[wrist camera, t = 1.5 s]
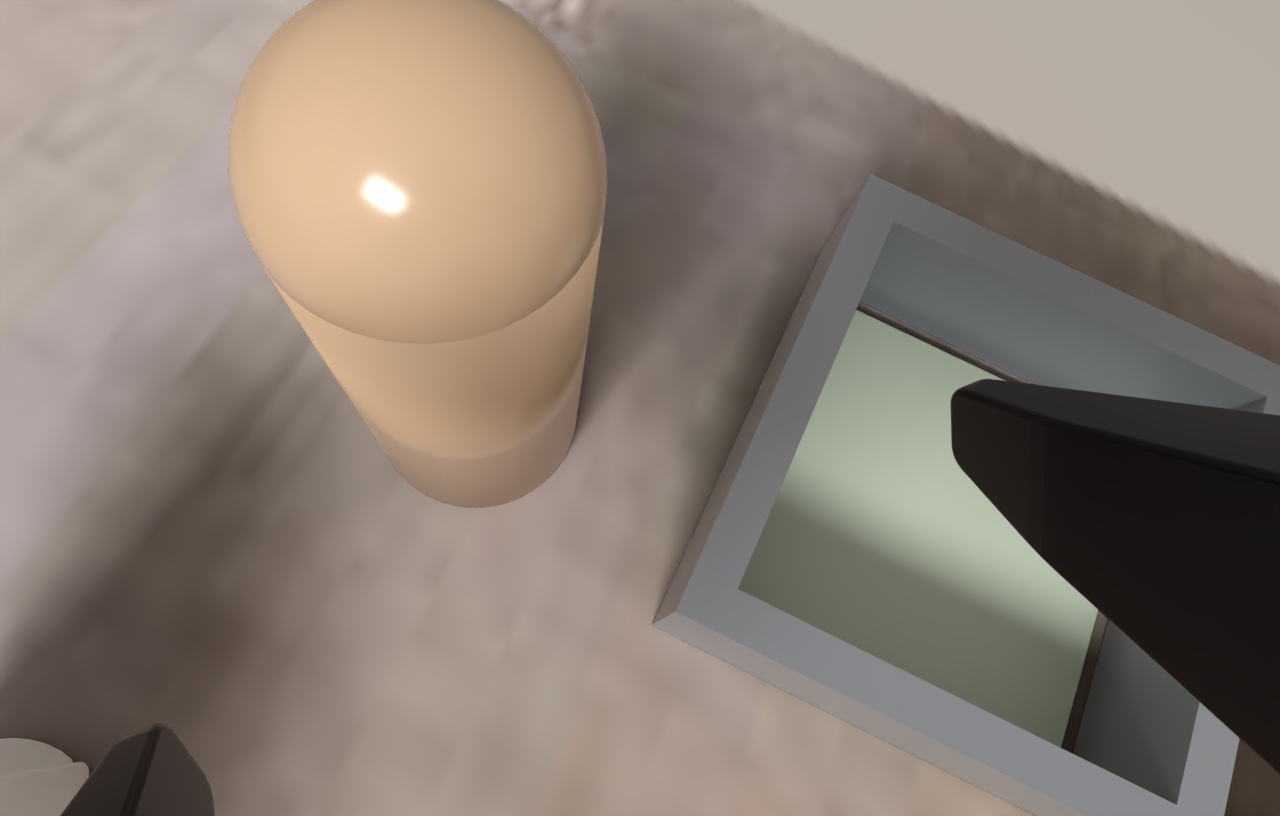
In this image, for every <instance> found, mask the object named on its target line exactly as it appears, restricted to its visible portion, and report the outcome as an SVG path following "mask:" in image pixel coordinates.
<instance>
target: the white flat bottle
mask: <svg viewBox="0 0 1280 816" xmlns="http://www.w3.org/2000/svg"><path fill="white" fill-rule="evenodd" d="M88 777H89V769H88V767H87V765H86V764H85V763H84V762H75V763H73V761H72V759H71V758H70V757H68V756H67V755H66V754H65V753H63V752H62V751H61V750H59V749H57V748H55V747H53V746H51V745H48V744H46V743H43V742H39V741H34V740H30V739H21V738H4V739H0V816H60V815H61V813H62V812H63V811H64V809H65V808H66V807H67V805H68V804H69V803H70V801H71V800H72V799H73V797H74V796H75V795H76V793H77V792H78V791H79V789H80V788H81V787H82V785H83V784H84V783H85V781H86V780H87V779H88Z"/></svg>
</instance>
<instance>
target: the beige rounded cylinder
mask: <svg viewBox="0 0 1280 816" xmlns="http://www.w3.org/2000/svg"><path fill="white" fill-rule="evenodd" d="M229 177H230V183H231V188H232V194H233V198H234V203H235V207H236V210H237V213H238V216H239V219H240V222H241V225H242V228H243V230H244V232H245V234H246V236H247V238H248V240H249V242H250V244H251V246H252V248H253V250H254V252H255V254H256V256H257V258H258V260H259V261H260V263H261V265H262V266H263V268H264V269H265V271H266V272H267V274H268V275H269V277H270V278H271V280H272V281H273V283H274V284H275V286H276V287H277V289H278V291H279V292H280V294H281V295H282V297H283V298H284V300H285V301H286V303H287V304H288V306H289V307H290V309H291V310H292V312H293V313H294V315H295V316H296V318H297V320H298V321H299V323H300V324H301V326H302V327H303V329H304V330H305V332H306V333H307V335H308V336H309V338H310V339H311V341H312V342H313V344H314V346H315V347H316V349H317V350H318V352H319V353H320V355H321V356H322V358H323V359H324V361H325V362H326V364H327V365H328V367H329V368H330V370H331V371H332V373H333V375H334V376H335V378H336V379H337V381H338V382H339V384H340V385H341V387H342V388H343V390H344V391H345V393H346V394H347V396H348V397H349V399H350V401H351V402H352V404H353V405H354V407H355V408H356V410H357V411H358V413H359V414H360V416H361V417H362V419H363V420H364V422H365V423H366V425H367V426H368V428H369V430H370V431H371V433H372V434H373V436H374V437H375V439H376V440H377V442H378V443H379V445H380V446H381V448H382V449H383V451H384V452H385V454H386V456H387V457H388V459H389V460H390V462H391V463H392V465H393V466H394V467H395V469H396V470H397V471H398V473H399V474H400V475H401V476H402V477H403V478H404V479H405V480H406V481H407V482H408V483H409V484H410V485H412V486H413V487H414V488H415V489H417V490H418V491H420V492H421V493H423V494H425V495H427V496H428V497H430V498H433V499H435V500H437V501H440V502H443V503H446V504H450V505H454V506H460V507H468V508H482V507H490V506H497V505H501V504H505V503H508V502H511V501H513V500H516V499H518V498H521V497H523V496H524V495H526V494H528V493H530V492H532V491H533V490H535V489H536V488H537V487H539V486H540V485H541V484H543V483H544V482H545V481H546V480H547V479H548V478H549V477H550V476H551V475H552V474H553V473H554V472H555V470H556V469H557V468H558V467H559V465H560V464H561V462H562V461H563V459H564V458H565V456H566V454H567V452H568V450H569V448H570V445H571V443H572V440H573V436H574V433H575V428H576V421H577V413H578V406H579V399H580V391H581V384H582V377H583V369H584V362H585V354H586V347H587V340H588V332H589V325H590V317H591V310H592V303H593V295H594V288H595V281H596V273H597V266H598V258H599V251H600V244H601V236H602V229H603V221H604V214H605V207H606V199H607V159H606V152H605V146H604V140H603V136H602V131H601V127H600V124H599V121H598V118H597V114H596V111H595V108H594V106H593V104H592V102H591V100H590V98H589V95H588V93H587V91H586V89H585V87H584V85H583V83H582V81H581V79H580V77H579V76H578V74H577V73H576V71H575V70H574V68H573V67H572V65H571V64H570V62H569V61H568V60H567V58H566V57H565V56H564V54H563V53H562V52H561V51H560V49H559V48H558V47H557V46H556V45H555V44H554V43H553V41H552V40H551V39H550V38H549V37H548V36H547V35H546V34H545V33H544V32H543V31H542V30H540V29H539V28H538V27H537V26H536V25H535V24H534V23H533V22H531V21H530V20H529V19H527V18H526V17H525V16H523V15H522V14H521V13H519V12H518V11H516V10H515V9H513V8H512V7H511V6H509V5H508V4H506V3H504V2H502V1H500V0H314V1H313V2H311V3H310V4H308V5H307V6H305V7H304V8H302V9H301V10H299V11H298V12H296V13H295V14H294V15H293V16H291V17H290V18H289V19H288V20H287V21H285V22H284V23H283V24H282V25H281V26H280V27H279V28H278V29H277V30H276V31H275V33H274V34H273V35H272V36H271V37H270V38H269V39H268V41H267V42H266V43H265V45H264V46H263V48H262V49H261V51H260V52H259V54H258V55H257V57H256V58H255V60H254V61H253V62H252V64H251V66H250V68H249V70H248V72H247V74H246V76H245V78H244V80H243V82H242V85H241V88H240V91H239V94H238V97H237V100H236V103H235V107H234V110H233V114H232V119H231V125H230V132H229Z"/></svg>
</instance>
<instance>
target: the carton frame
mask: <svg viewBox="0 0 1280 816" xmlns="http://www.w3.org/2000/svg"><path fill="white" fill-rule="evenodd" d="M860 301H861V302H863V303H865V304H867V305H870V306H872V307H874V308H876V309H878V310H880V311H882V312H884V313H886V314H889V315H891V316H893V317H895V318H897V319H899V320H901V321H903V322H905V323H907V324H910V325H912V326H914V327H916V328H918V329H920V330H922V331H924V332H926V333H929V334H931V335H933V336H935V337H937V338H939V339H941V340H943V341H945V342H947V343H950V344H952V345H954V346H956V347H958V348H960V349H962V350H964V351H966V352H968V353H971V354H973V355H975V356H977V357H979V358H981V359H983V360H985V361H987V362H990V363H992V364H994V365H996V366H998V367H1000V368H1002V369H1004V370H1006V371H1008V372H1011V373H1013V374H1015V375H1017V376H1019V377H1021V378H1023V379H1025V380H1027V381H1030V382H1032V383H1034V384H1036V385H1043V386H1051V387H1059V388H1067V389H1075V390H1083V391H1091V392H1099V393H1107V394H1115V395H1123V396H1131V397H1139V398H1147V399H1155V400H1163V401H1171V402H1178V403H1186V404H1194V405H1202V406H1210V407H1218V408H1226V409H1234V410H1242V411H1250V412H1258V413H1266V414H1274V415H1280V365H1278V364H1276V363H1274V362H1272V361H1270V360H1268V359H1265V358H1263V357H1261V356H1259V355H1257V354H1255V353H1253V352H1250V351H1248V350H1246V349H1244V348H1242V347H1240V346H1238V345H1235V344H1233V343H1231V342H1229V341H1227V340H1225V339H1223V338H1221V337H1218V336H1216V335H1214V334H1212V333H1210V332H1208V331H1206V330H1203V329H1201V328H1199V327H1197V326H1195V325H1193V324H1191V323H1189V322H1186V321H1184V320H1182V319H1180V318H1178V317H1176V316H1174V315H1171V314H1169V313H1167V312H1165V311H1163V310H1161V309H1159V308H1157V307H1154V306H1152V305H1150V304H1148V303H1146V302H1144V301H1142V300H1139V299H1137V298H1135V297H1133V296H1131V295H1129V294H1127V293H1125V292H1122V291H1120V290H1118V289H1116V288H1114V287H1112V286H1110V285H1107V284H1105V283H1103V282H1101V281H1099V280H1097V279H1095V278H1093V277H1090V276H1088V275H1086V274H1084V273H1082V272H1080V271H1078V270H1075V269H1073V268H1071V267H1069V266H1067V265H1065V264H1063V263H1061V262H1058V261H1056V260H1054V259H1052V258H1050V257H1048V256H1046V255H1043V254H1041V253H1039V252H1037V251H1035V250H1033V249H1031V248H1029V247H1026V246H1024V245H1022V244H1020V243H1018V242H1016V241H1014V240H1011V239H1009V238H1007V237H1005V236H1003V235H1001V234H999V233H997V232H994V231H992V230H990V229H988V228H986V227H984V226H982V225H979V224H977V223H975V222H973V221H971V220H969V219H967V218H965V217H962V216H960V215H958V214H956V213H954V212H952V211H950V210H947V209H945V208H943V207H941V206H939V205H937V204H935V203H933V202H930V201H928V200H926V199H924V198H922V197H920V196H918V195H915V194H913V193H911V192H909V191H907V190H905V189H903V188H901V187H898V186H896V185H894V184H892V183H890V182H888V181H886V180H883V179H881V178H879V177H877V176H875V175H873V174H870V175H869V177H868V178H867V180H866V181H865V183H864V185H863V186H862V188H861V189H860V191H859V192H858V194H857V196H856V197H855V199H854V200H853V202H852V203H851V205H850V206H849V208H848V210H847V211H846V213H845V214H844V216H843V217H842V219H841V221H840V222H839V224H838V225H837V227H836V228H835V230H834V231H833V233H832V235H831V236H830V238H829V239H828V241H827V242H826V244H825V245H824V247H823V249H822V250H821V252H820V255H819V257H818V259H817V261H816V263H815V266H814V268H813V270H812V272H811V274H810V277H809V279H808V281H807V283H806V286H805V288H804V290H803V292H802V294H801V297H800V299H799V301H798V303H797V305H796V308H795V310H794V312H793V314H792V316H791V319H790V321H789V323H788V325H787V327H786V330H785V332H784V334H783V336H782V339H781V341H780V343H779V345H778V347H777V350H776V352H775V354H774V356H773V358H772V361H771V363H770V365H769V367H768V369H767V372H766V374H765V376H764V378H763V380H762V383H761V385H760V387H759V389H758V392H757V394H756V396H755V398H754V400H753V403H752V405H751V407H750V409H749V411H748V414H747V416H746V418H745V420H744V422H743V425H742V427H741V429H740V431H739V433H738V436H737V438H736V440H735V442H734V445H733V447H732V449H731V451H730V453H729V456H728V458H727V460H726V462H725V464H724V467H723V469H722V471H721V473H720V475H719V478H718V480H717V482H716V484H715V486H714V489H713V491H712V493H711V495H710V498H709V500H708V502H707V504H706V506H705V509H704V511H703V513H702V515H701V517H700V520H699V522H698V524H697V526H696V528H695V531H694V533H693V535H692V537H691V539H690V542H689V544H688V546H687V548H686V551H685V553H684V555H683V557H682V559H681V562H680V564H679V566H678V568H677V570H676V573H675V575H674V577H673V579H672V581H671V584H670V586H669V588H668V590H667V593H666V595H665V597H664V599H663V601H662V604H661V606H660V608H659V610H658V612H657V615H656V617H655V619H654V621H653V623H652V626H654V627H656V628H658V629H660V630H662V631H664V632H666V633H668V634H670V635H673V636H675V637H677V638H679V639H681V640H683V641H685V642H687V643H689V644H691V645H693V646H695V647H697V648H699V649H701V650H703V651H705V652H707V653H709V654H711V655H713V656H715V657H717V658H719V659H721V660H723V661H725V662H727V663H729V664H731V665H733V666H735V667H737V668H739V669H741V670H743V671H745V672H747V673H749V674H751V675H753V676H755V677H757V678H759V679H761V680H763V681H765V682H767V683H769V684H771V685H773V686H775V687H777V688H779V689H781V690H783V691H785V692H787V693H789V694H791V695H793V696H795V697H797V698H799V699H801V700H803V701H805V702H807V703H809V704H811V705H814V706H816V707H818V708H820V709H822V710H824V711H826V712H828V713H830V714H832V715H834V716H836V717H838V718H840V719H842V720H844V721H846V722H848V723H850V724H852V725H854V726H856V727H858V728H860V729H862V730H864V731H866V732H868V733H870V734H872V735H874V736H876V737H878V738H880V739H882V740H884V741H886V742H888V743H890V744H892V745H894V746H896V747H898V748H900V749H902V750H904V751H906V752H908V753H910V754H912V755H914V756H916V757H918V758H920V759H922V760H924V761H926V762H928V763H930V764H932V765H934V766H936V767H938V768H940V769H942V770H944V771H946V772H948V773H950V774H952V775H955V776H957V777H959V778H961V779H963V780H965V781H967V782H969V783H971V784H973V785H975V786H977V787H979V788H981V789H983V790H985V791H987V792H989V793H991V794H993V795H995V796H997V797H999V798H1001V799H1003V800H1005V801H1007V802H1009V803H1011V804H1013V805H1015V806H1017V807H1019V808H1021V809H1023V810H1025V811H1027V812H1029V813H1031V814H1033V815H1035V816H1224V814H1225V809H1226V804H1227V799H1228V794H1229V789H1230V784H1231V779H1232V774H1233V769H1234V764H1235V759H1236V754H1237V749H1238V744H1239V739H1240V738H1239V737H1237V736H1236V735H1235V734H1234V733H1233V732H1232V731H1231V730H1230V729H1229V728H1228V727H1226V726H1225V725H1224V724H1223V723H1222V722H1221V721H1220V720H1219V719H1218V718H1217V717H1215V716H1214V715H1213V714H1212V713H1211V712H1210V711H1209V710H1208V709H1207V708H1206V707H1204V706H1203V705H1202V704H1201V703H1200V702H1199V701H1198V700H1197V699H1196V698H1195V697H1193V696H1192V695H1191V694H1190V693H1189V692H1188V691H1187V690H1186V689H1185V688H1184V687H1182V686H1181V685H1180V684H1179V683H1178V682H1177V681H1176V680H1175V679H1174V678H1173V677H1171V676H1170V675H1169V674H1168V673H1167V672H1166V671H1165V670H1164V669H1163V668H1162V667H1160V666H1159V665H1158V664H1157V663H1156V662H1155V661H1154V660H1153V659H1152V658H1151V657H1149V656H1148V655H1147V654H1146V653H1145V652H1144V651H1143V650H1142V649H1141V648H1140V647H1138V646H1137V645H1136V644H1135V643H1134V642H1133V641H1132V640H1131V639H1130V638H1129V637H1127V636H1126V635H1125V634H1124V633H1123V632H1122V631H1121V630H1120V629H1119V628H1118V627H1117V626H1115V625H1114V624H1113V623H1112V622H1111V621H1110V620H1109V619H1108V623H1107V627H1106V630H1105V634H1104V638H1103V642H1102V645H1101V649H1100V653H1099V657H1098V661H1097V664H1096V668H1095V672H1094V676H1093V679H1092V683H1091V687H1090V691H1089V694H1088V698H1087V702H1086V706H1085V709H1084V713H1083V717H1082V721H1081V725H1080V728H1079V732H1078V736H1077V740H1076V743H1075V747H1074V751H1073V754H1072V753H1070V752H1068V751H1066V750H1064V749H1062V748H1061V745H1062V741H1063V738H1064V734H1065V730H1066V727H1067V723H1068V719H1069V716H1070V712H1071V708H1072V705H1073V701H1074V697H1075V694H1076V690H1077V686H1078V682H1079V679H1080V675H1081V671H1082V668H1083V664H1084V660H1085V657H1086V653H1087V649H1088V646H1089V642H1090V638H1091V634H1092V631H1093V627H1094V623H1095V620H1096V616H1097V612H1098V609H1097V608H1096V607H1095V606H1093V605H1092V604H1091V603H1090V602H1089V601H1088V600H1087V599H1086V598H1085V597H1084V596H1082V595H1081V594H1080V593H1079V592H1078V591H1077V590H1076V589H1075V588H1074V587H1073V586H1071V585H1070V584H1069V583H1068V582H1067V581H1066V580H1065V579H1064V578H1063V577H1062V576H1060V575H1059V574H1058V573H1057V572H1056V571H1055V570H1054V569H1053V568H1052V567H1051V566H1050V565H1049V564H1048V563H1047V562H1046V561H1045V560H1044V559H1042V558H1041V557H1040V556H1039V554H1038V553H1037V552H1036V551H1035V550H1034V549H1033V548H1032V547H1031V546H1030V545H1029V544H1028V543H1027V542H1026V541H1025V540H1024V539H1023V537H1022V536H1021V535H1020V534H1019V533H1018V532H1017V531H1016V530H1015V528H1014V527H1013V526H1012V525H1011V524H1010V523H1009V522H1008V521H1007V520H1006V518H1005V517H1004V516H1003V515H1002V514H1001V513H1000V512H999V511H998V509H997V508H996V507H995V506H994V505H993V504H992V503H991V502H990V501H989V499H988V498H987V497H986V496H985V495H984V494H983V493H982V492H981V490H980V489H979V488H978V487H977V486H976V485H975V484H974V483H973V482H972V480H971V479H970V478H969V477H968V476H967V475H966V474H965V473H964V472H963V470H962V469H961V468H960V467H959V465H958V464H957V462H956V460H955V458H954V455H953V451H952V442H951V405H950V404H951V398H952V395H953V393H954V392H955V391H956V390H957V389H959V388H961V387H964V386H966V385H968V384H971V383H973V382H976V381H978V380H981V379H995V380H1003V379H1001V378H999V377H997V376H994V375H992V374H990V373H988V372H986V371H984V370H982V369H980V368H978V367H976V366H973V365H971V364H969V363H967V362H965V361H963V360H961V359H959V358H957V357H954V356H952V355H950V354H948V353H946V352H944V351H942V350H940V349H938V348H936V347H933V346H931V345H929V344H927V343H925V342H923V341H921V340H919V339H917V338H915V337H912V336H910V335H908V334H906V333H904V332H902V331H900V330H898V329H896V328H894V327H891V326H889V325H887V324H885V323H883V322H881V321H879V320H877V319H875V318H873V317H870V316H868V315H866V314H864V313H862V312H860V311H858V310H856V309H857V306H858V304H859V302H860ZM1003 381H1005V380H1003Z"/></svg>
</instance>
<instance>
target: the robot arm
mask: <svg viewBox="0 0 1280 816" xmlns="http://www.w3.org/2000/svg"><path fill="white" fill-rule="evenodd" d="M950 405H951V442H952V451H953V455H954V458H955V460H956V462H957V464H958V465H959V467H960V468H961V469H962V470H963V472H964V473H965V474H966V475H967V476H968V477H969V478H970V479H971V480H972V482H973V483H974V484H975V485H976V486H977V487H978V488H979V489H980V490H981V492H982V493H983V494H984V495H985V496H986V497H987V498H988V499H989V501H990V502H991V503H992V504H993V505H994V506H995V507H996V508H997V509H998V511H999V512H1000V513H1001V514H1002V515H1003V516H1004V517H1005V518H1006V520H1007V521H1008V522H1009V523H1010V524H1011V525H1012V526H1013V527H1014V528H1015V530H1016V531H1017V532H1018V533H1019V534H1020V535H1021V536H1022V537H1023V539H1024V540H1025V541H1026V542H1027V543H1028V544H1029V545H1030V546H1031V547H1032V548H1033V549H1034V550H1035V551H1036V552H1037V553H1038V554H1039V556H1040V557H1041V558H1042V559H1044V560H1045V561H1046V562H1047V563H1048V564H1049V565H1050V566H1051V567H1052V568H1053V569H1054V570H1055V571H1056V572H1057V573H1058V574H1059V575H1060V576H1062V577H1063V578H1064V579H1065V580H1066V581H1067V582H1068V583H1069V584H1070V585H1071V586H1073V587H1074V588H1075V589H1076V590H1077V591H1078V592H1079V593H1080V594H1081V595H1082V596H1084V597H1085V598H1086V599H1087V600H1088V601H1089V602H1090V603H1091V604H1092V605H1093V606H1095V607H1096V608H1097V609H1098V610H1099V611H1100V612H1101V613H1102V614H1103V615H1104V616H1106V617H1107V618H1108V619H1109V620H1110V621H1111V622H1112V623H1113V624H1114V625H1115V626H1117V627H1118V628H1119V629H1120V630H1121V631H1122V632H1123V633H1124V634H1125V635H1126V636H1127V637H1129V638H1130V639H1131V640H1132V641H1133V642H1134V643H1135V644H1136V645H1137V646H1138V647H1140V648H1141V649H1142V650H1143V651H1144V652H1145V653H1146V654H1147V655H1148V656H1149V657H1151V658H1152V659H1153V660H1154V661H1155V662H1156V663H1157V664H1158V665H1159V666H1160V667H1162V668H1163V669H1164V670H1165V671H1166V672H1167V673H1168V674H1169V675H1170V676H1171V677H1173V678H1174V679H1175V680H1176V681H1177V682H1178V683H1179V684H1180V685H1181V686H1182V687H1184V688H1185V689H1186V690H1187V691H1188V692H1189V693H1190V694H1191V695H1192V696H1193V697H1195V698H1196V699H1197V700H1198V701H1199V702H1200V703H1201V704H1202V705H1203V706H1204V707H1206V708H1207V709H1208V710H1209V711H1210V712H1211V713H1212V714H1213V715H1214V716H1215V717H1217V718H1218V719H1219V720H1220V721H1221V722H1222V723H1223V724H1224V725H1225V726H1226V727H1228V728H1229V729H1230V730H1231V731H1232V732H1233V733H1234V734H1235V735H1236V736H1237V737H1239V738H1240V739H1241V740H1242V741H1243V742H1244V743H1245V744H1246V745H1247V746H1248V747H1250V748H1251V749H1252V750H1253V751H1254V752H1255V753H1256V754H1257V755H1258V756H1259V757H1261V758H1262V759H1263V760H1264V761H1265V762H1266V763H1267V764H1268V765H1269V766H1270V767H1272V768H1273V769H1274V770H1275V771H1276V772H1277V773H1278V774H1279V775H1280V415H1274V414H1266V413H1258V412H1250V411H1242V410H1234V409H1226V408H1218V407H1210V406H1202V405H1194V404H1186V403H1178V402H1171V401H1163V400H1155V399H1147V398H1139V397H1131V396H1123V395H1115V394H1107V393H1099V392H1091V391H1083V390H1075V389H1067V388H1059V387H1051V386H1043V385H1035V384H1027V383H1019V382H1011V381H1003V380H995V379H981V380H978V381H976V382H973V383H971V384H968V385H966V386H964V387H961V388H959V389H957V390H956V391H955V392H954V393H953V395H952V398H951V404H950ZM60 816H215V814H214V804H213V797H212V792H211V788H210V785H209V782H208V780H207V778H206V776H205V774H204V773H203V771H202V770H201V769H200V767H199V766H198V765H197V763H196V762H195V760H194V759H193V758H192V756H191V755H190V754H189V752H188V751H187V749H186V748H185V747H184V745H183V744H182V742H181V741H180V740H179V738H178V737H177V736H176V734H175V733H174V732H173V730H172V729H171V728H169V727H168V726H167V725H165V724H154V725H152V726H149V727H147V728H144V729H142V730H140V731H137V732H135V733H132V734H130V735H128V736H125V737H123V738H121V739H119V740H118V741H116V742H115V743H114V744H113V746H112V747H111V748H110V749H109V750H108V752H107V753H106V754H105V756H104V757H103V758H102V760H101V761H100V762H99V764H98V765H97V766H96V768H95V769H94V771H93V772H92V773H91V775H90V776H89V777H88V779H87V780H86V781H85V783H84V784H83V785H82V787H81V788H80V789H79V791H78V792H77V793H76V795H75V796H74V797H73V799H72V800H71V801H70V803H69V804H68V805H67V807H66V808H65V809H64V811H63V812H62V813H61V815H60Z"/></svg>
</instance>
